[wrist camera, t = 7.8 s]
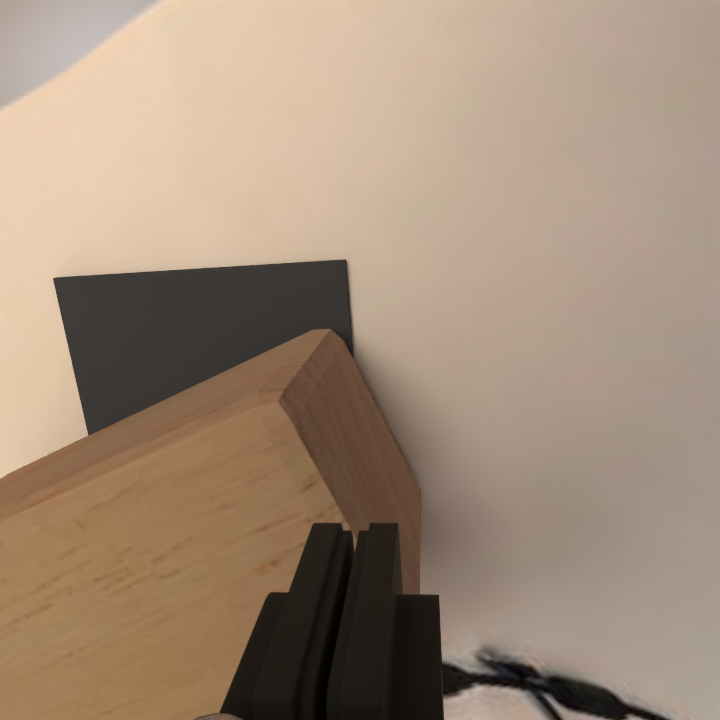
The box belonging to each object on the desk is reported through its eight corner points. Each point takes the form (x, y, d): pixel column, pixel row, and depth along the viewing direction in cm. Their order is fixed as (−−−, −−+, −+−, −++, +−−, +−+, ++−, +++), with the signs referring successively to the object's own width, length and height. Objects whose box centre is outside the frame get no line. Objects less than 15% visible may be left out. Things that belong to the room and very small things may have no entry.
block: (336, 315, 24) (8, 471, 29) (279, 388, 15) (-198, 604, 19) (429, 497, 26) (108, 616, 31) (431, 664, 17) (-34, 801, 21)
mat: (56, 277, 26) (52, 278, 25) (345, 259, 24) (344, 260, 24) (106, 500, 29) (103, 503, 29) (364, 500, 27) (364, 503, 27)
